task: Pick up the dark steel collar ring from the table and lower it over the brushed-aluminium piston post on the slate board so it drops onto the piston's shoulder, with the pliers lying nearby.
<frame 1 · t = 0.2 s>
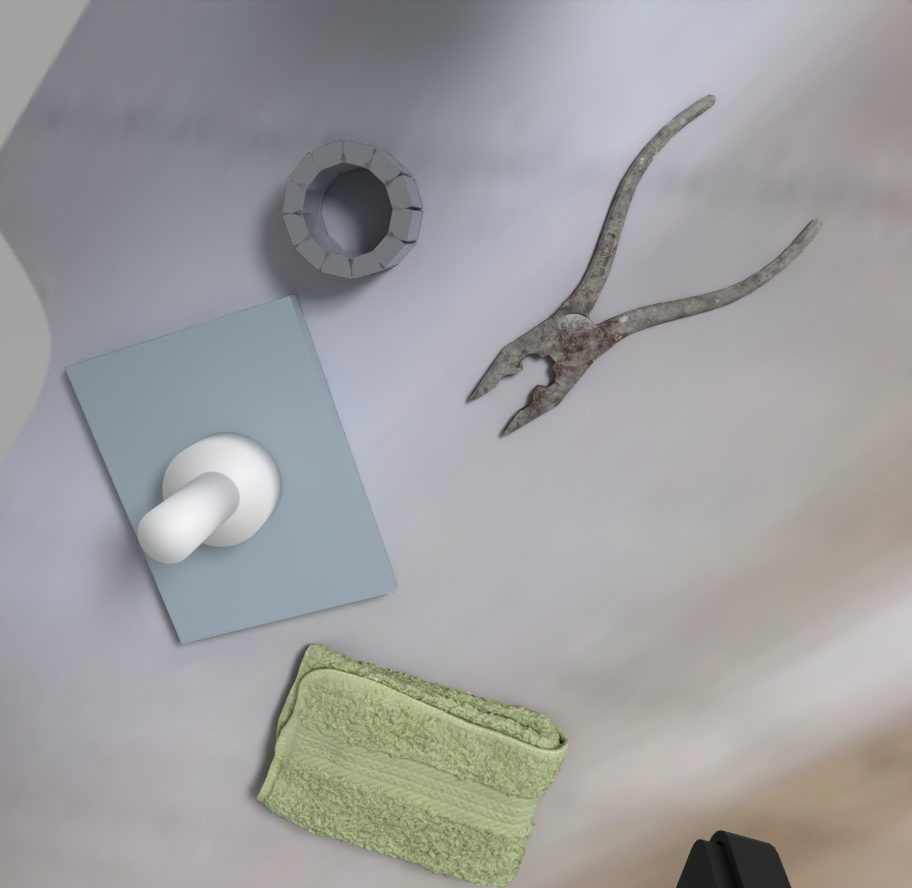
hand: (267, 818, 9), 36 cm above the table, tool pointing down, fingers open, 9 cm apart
piston block: (239, 475, 47), on the table
pliers: (642, 303, 43), on the table
washcloth: (413, 753, 52), on the table
ring: (362, 212, 43), on the table
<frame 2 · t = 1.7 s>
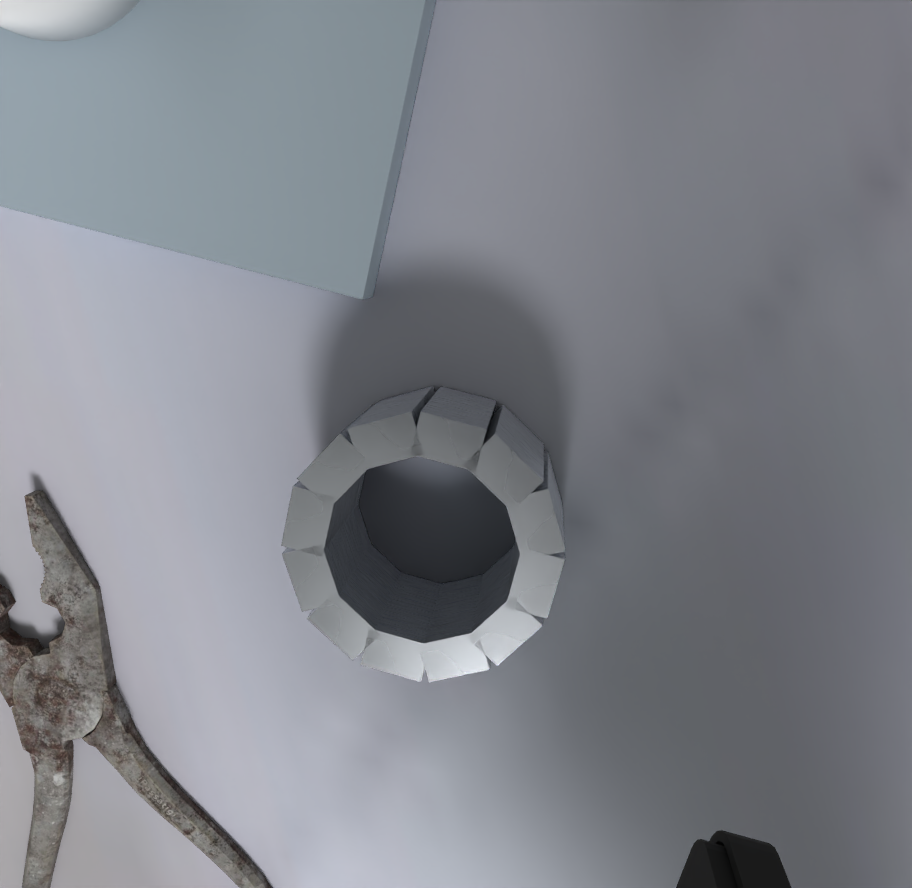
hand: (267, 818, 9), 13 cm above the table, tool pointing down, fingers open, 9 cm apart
pliers: (82, 795, 26), on the table
ring: (440, 505, 22), on the table
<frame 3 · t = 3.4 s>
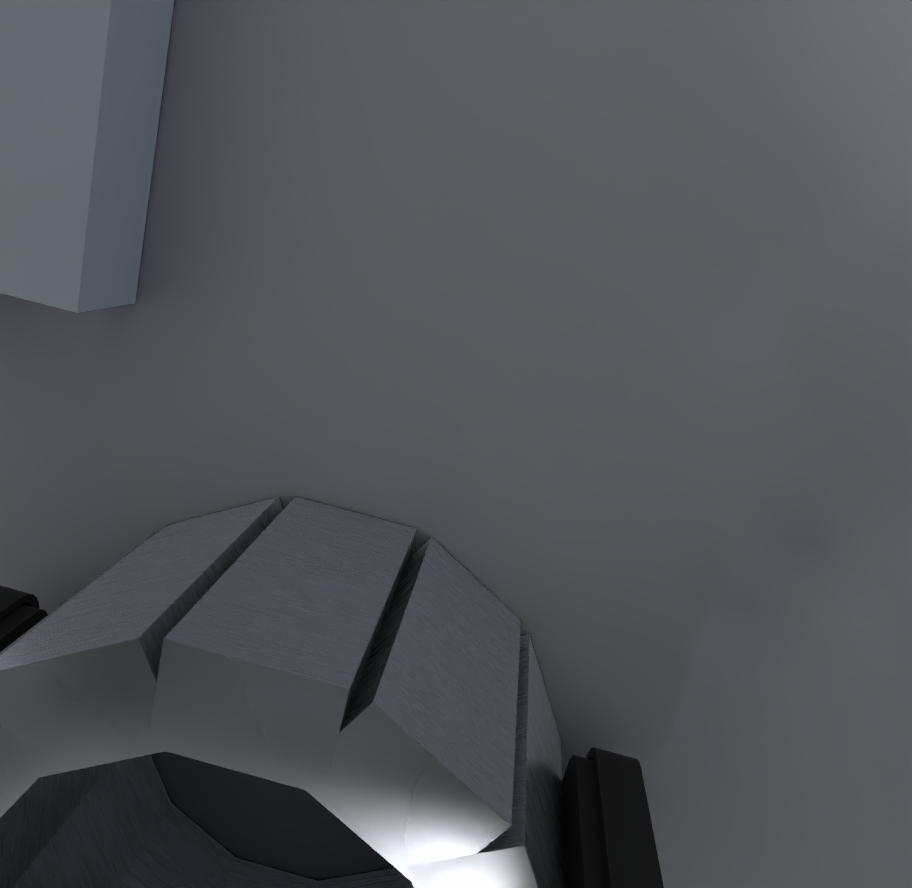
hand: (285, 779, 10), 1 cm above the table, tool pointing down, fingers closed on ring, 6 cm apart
ring: (306, 736, 10), on the table, touching gripper
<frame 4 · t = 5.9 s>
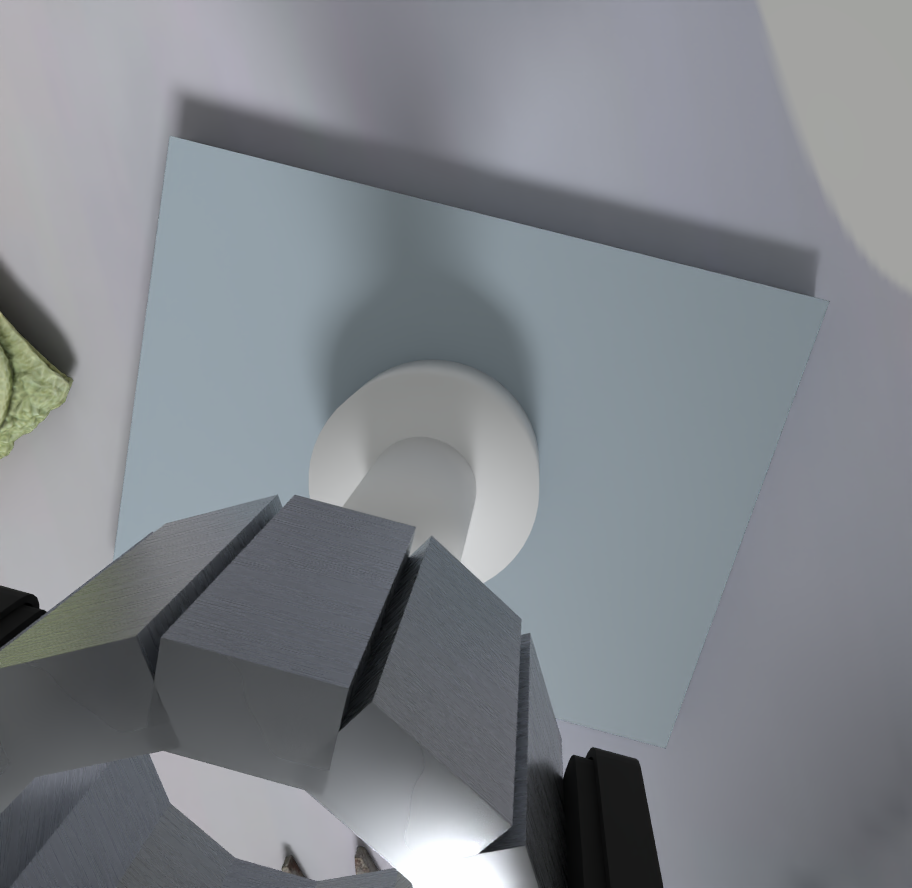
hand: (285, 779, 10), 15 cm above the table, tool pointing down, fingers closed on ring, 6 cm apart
piston block: (439, 452, 24), on the table
ring: (305, 735, 10), point 14 cm above the table, touching gripper
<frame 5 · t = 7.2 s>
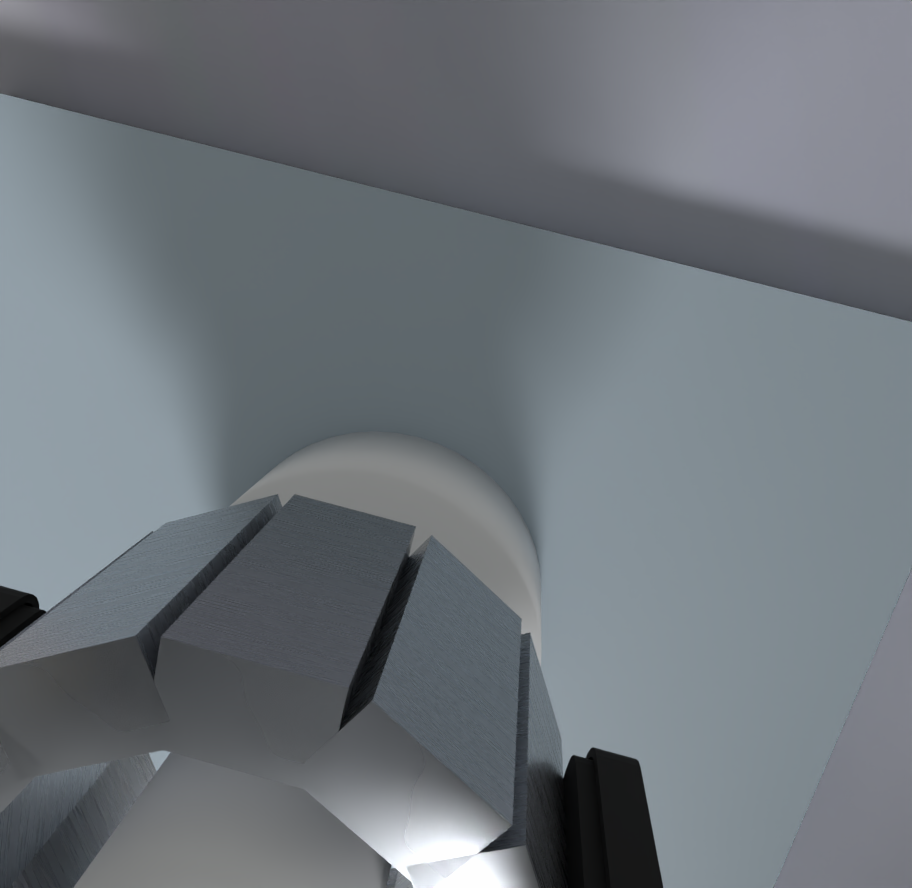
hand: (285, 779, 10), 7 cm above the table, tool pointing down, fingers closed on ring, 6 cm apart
piston block: (393, 560, 16), on the table
ring: (305, 735, 10), point 6 cm above the table, touching gripper
when the fingers open (6 cm above the table, at t = 8.4 s): ring drops 1 cm, resting on piston block.
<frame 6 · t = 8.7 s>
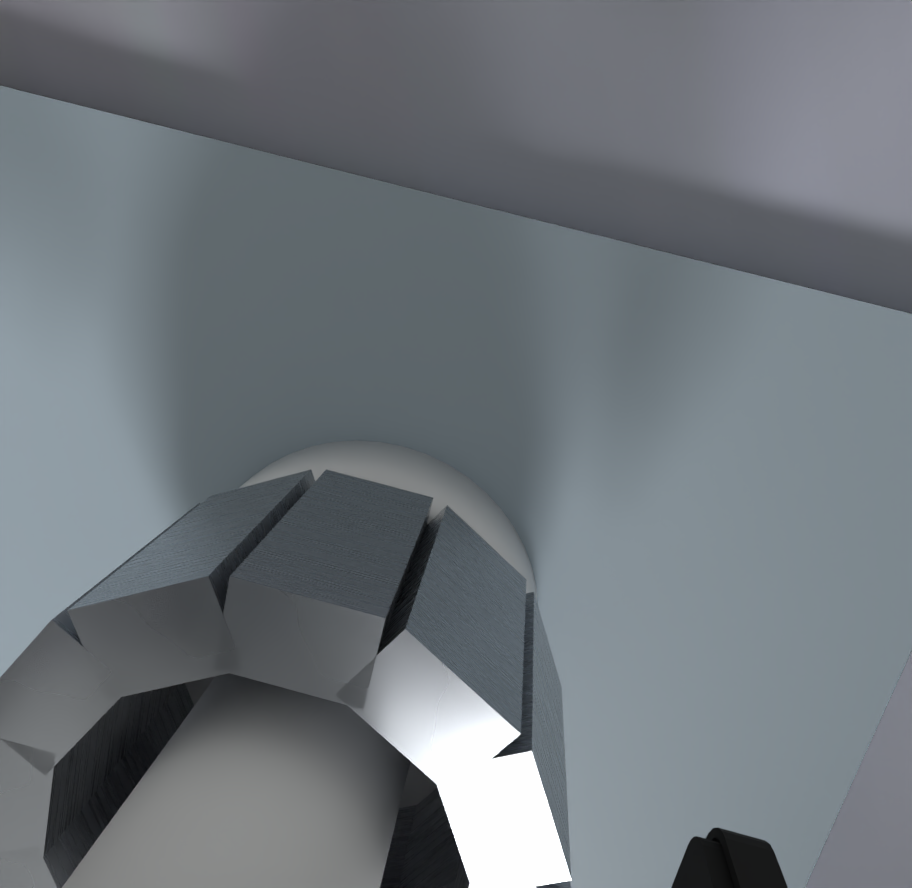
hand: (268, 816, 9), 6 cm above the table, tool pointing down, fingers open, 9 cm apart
piston block: (379, 577, 15), on the table
ring: (334, 685, 12), point 4 cm above the table, touching piston block
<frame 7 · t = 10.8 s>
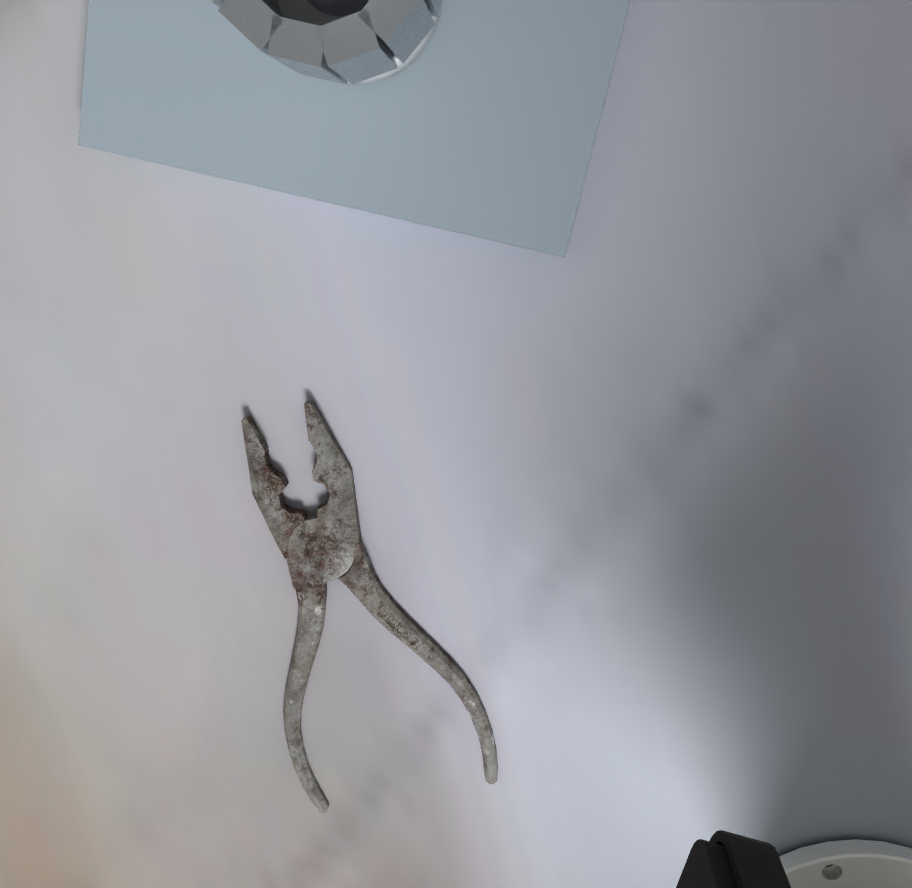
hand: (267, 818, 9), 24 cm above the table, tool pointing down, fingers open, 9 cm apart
pliers: (327, 625, 36), on the table
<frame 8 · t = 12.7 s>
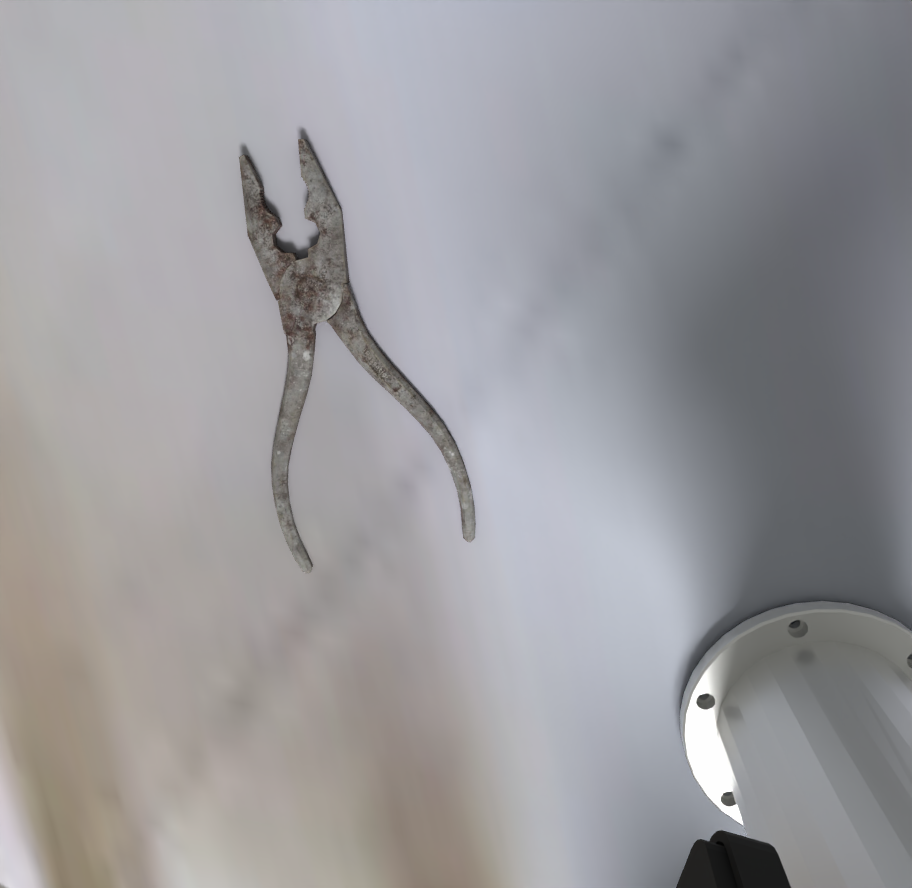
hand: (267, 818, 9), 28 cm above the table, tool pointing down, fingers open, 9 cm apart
pliers: (315, 379, 38), on the table
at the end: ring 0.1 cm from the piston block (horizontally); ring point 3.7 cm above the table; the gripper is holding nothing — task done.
